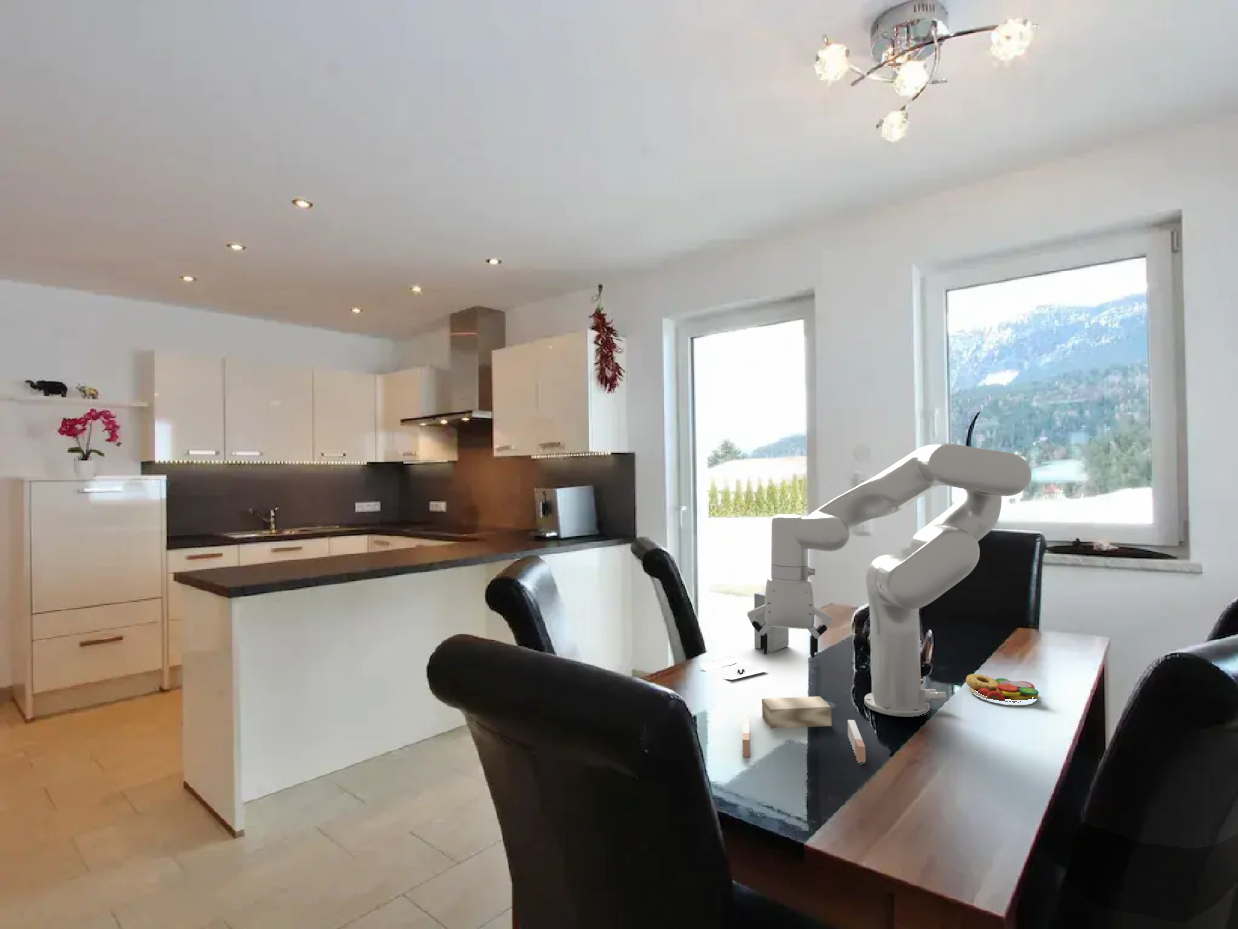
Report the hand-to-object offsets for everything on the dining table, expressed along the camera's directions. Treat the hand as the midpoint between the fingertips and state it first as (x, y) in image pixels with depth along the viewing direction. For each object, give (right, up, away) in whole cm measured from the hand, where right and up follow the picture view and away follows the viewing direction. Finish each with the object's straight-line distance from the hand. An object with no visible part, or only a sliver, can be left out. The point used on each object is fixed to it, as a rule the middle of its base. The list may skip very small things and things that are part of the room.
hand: (788, 654), depth 139 cm
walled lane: (-3, -11, -20) cm, 23 cm away
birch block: (-1, -11, -8) cm, 14 cm away
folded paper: (-7, -12, +25) cm, 29 cm away
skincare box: (+7, -12, +46) cm, 48 cm away
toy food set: (+48, -11, +4) cm, 49 cm away
